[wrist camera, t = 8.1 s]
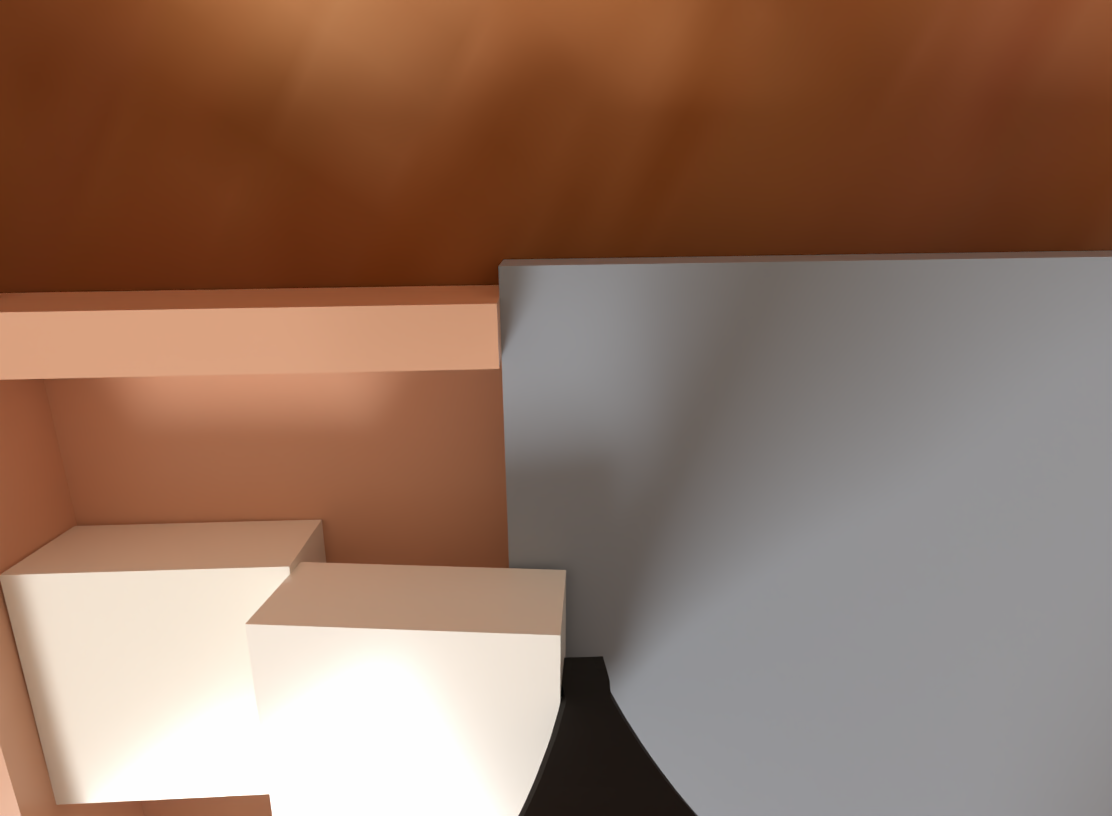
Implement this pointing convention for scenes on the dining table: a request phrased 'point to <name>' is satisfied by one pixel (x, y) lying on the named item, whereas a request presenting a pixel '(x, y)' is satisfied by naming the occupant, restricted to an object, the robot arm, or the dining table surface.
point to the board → (829, 519)
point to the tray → (245, 443)
